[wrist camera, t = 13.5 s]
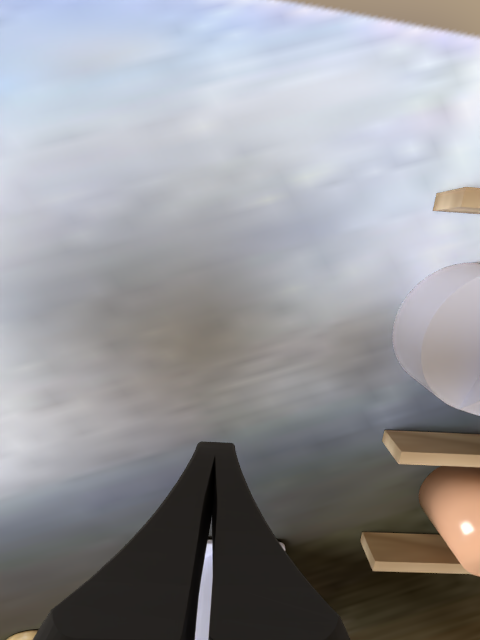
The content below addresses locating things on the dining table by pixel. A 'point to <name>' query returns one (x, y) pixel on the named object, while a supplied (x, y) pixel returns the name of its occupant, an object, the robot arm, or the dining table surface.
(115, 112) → the dining table surface
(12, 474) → the dining table surface
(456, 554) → the tan smooth rounded piece
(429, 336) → the wedge on round base
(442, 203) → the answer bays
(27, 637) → the hand bell
